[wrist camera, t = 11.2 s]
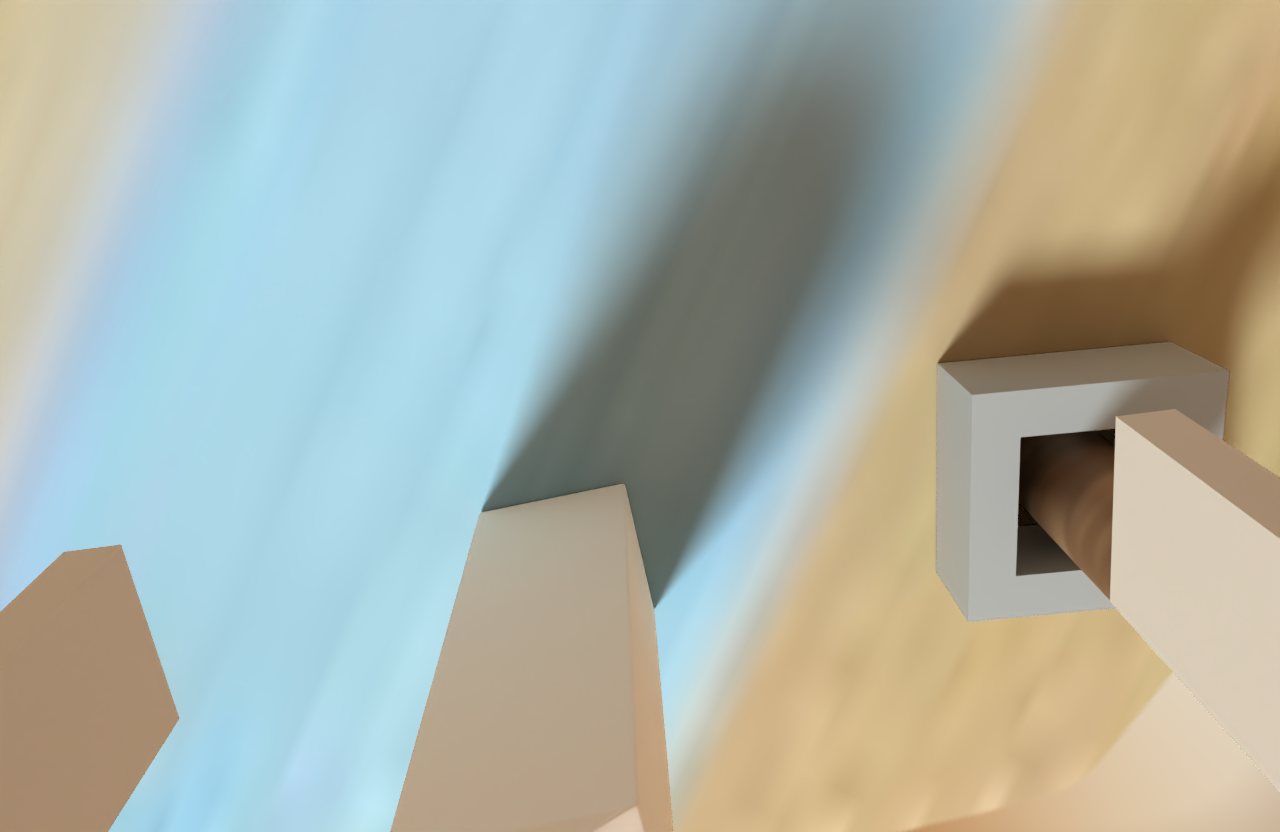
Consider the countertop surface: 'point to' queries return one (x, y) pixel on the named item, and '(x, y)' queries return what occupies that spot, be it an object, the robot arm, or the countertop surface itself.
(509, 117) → the countertop surface
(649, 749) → the milk
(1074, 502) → the peg
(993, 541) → the socket block
